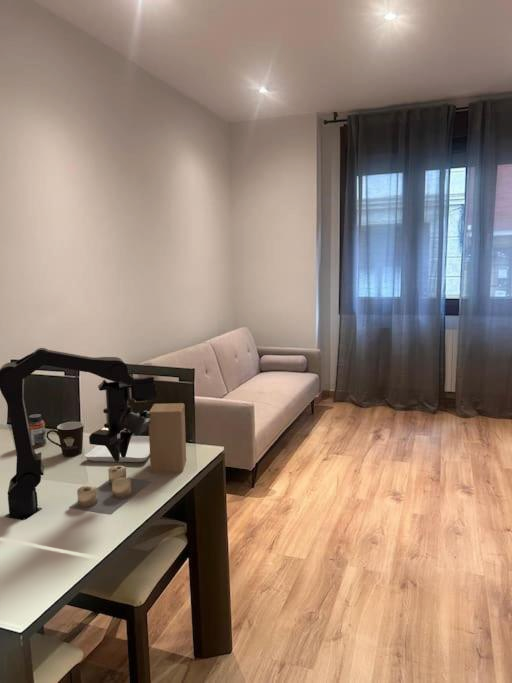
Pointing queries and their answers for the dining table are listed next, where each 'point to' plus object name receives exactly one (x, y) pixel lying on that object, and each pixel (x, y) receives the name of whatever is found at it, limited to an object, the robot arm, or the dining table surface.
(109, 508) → the mat
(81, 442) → the coffee mug
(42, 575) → the dining table surface
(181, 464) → the wooden block
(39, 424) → the supplement bottle
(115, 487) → the plain puck
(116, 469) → the two dot puck
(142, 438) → the salad plate
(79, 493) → the one dot puck
